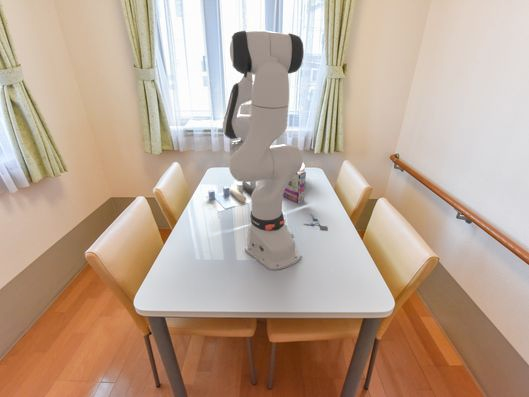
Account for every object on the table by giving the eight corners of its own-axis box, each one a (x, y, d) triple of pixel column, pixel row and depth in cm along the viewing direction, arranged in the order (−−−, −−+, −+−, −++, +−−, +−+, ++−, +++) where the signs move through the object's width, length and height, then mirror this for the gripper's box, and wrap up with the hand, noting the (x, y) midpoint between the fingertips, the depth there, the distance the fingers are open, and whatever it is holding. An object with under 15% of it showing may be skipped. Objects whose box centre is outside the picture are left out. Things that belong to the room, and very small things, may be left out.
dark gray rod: (261, 198, 136) (261, 192, 134) (255, 199, 134) (255, 193, 133) (246, 187, 148) (246, 181, 146) (240, 188, 146) (241, 182, 145)
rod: (246, 201, 133) (246, 195, 131) (240, 203, 131) (240, 197, 130) (234, 191, 143) (233, 185, 142) (228, 192, 142) (228, 187, 140)
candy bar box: (304, 201, 135) (306, 171, 127) (297, 205, 132) (299, 174, 124) (288, 194, 142) (289, 165, 134) (281, 197, 139) (282, 168, 131)
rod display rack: (269, 198, 138) (269, 189, 135) (219, 213, 125) (218, 203, 122) (252, 186, 151) (252, 177, 148) (205, 198, 138) (204, 188, 136)
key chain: (330, 230, 113) (331, 228, 113) (315, 235, 110) (315, 233, 109) (311, 215, 124) (311, 213, 124) (296, 219, 121) (296, 217, 120)
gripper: (232, 143, 120) (234, 171, 126) (270, 137, 129) (270, 163, 136) (227, 140, 124) (228, 167, 131) (264, 134, 134) (264, 160, 140)
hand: (250, 165), depth 133 cm, fingers open, 8 cm apart
